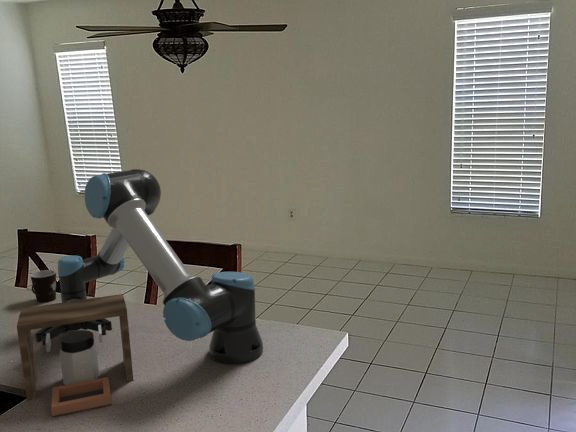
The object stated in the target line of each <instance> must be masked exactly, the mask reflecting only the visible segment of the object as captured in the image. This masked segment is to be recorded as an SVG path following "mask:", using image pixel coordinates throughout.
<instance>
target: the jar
mask: <svg viewBox="0 0 576 432" xmlns="http://www.w3.org/2000/svg"><path fill="white" fill-rule="evenodd" d="M59 345H60V349H59V358H60V365H61V375H62V382H63V384H64V385H69V384H74V383H80V382H85V381H90V380H95V379H98V377H99V375H100V367H99V358H98V351H97V350H98V349H97V342H96V341H95V336H94V333H93V331H92V330H91V331H90V330H88V329H87V330H84V329H79V330H76V331H69V332H66V333H64V335H62V336H61V337H60V338H59Z"/></svg>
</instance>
